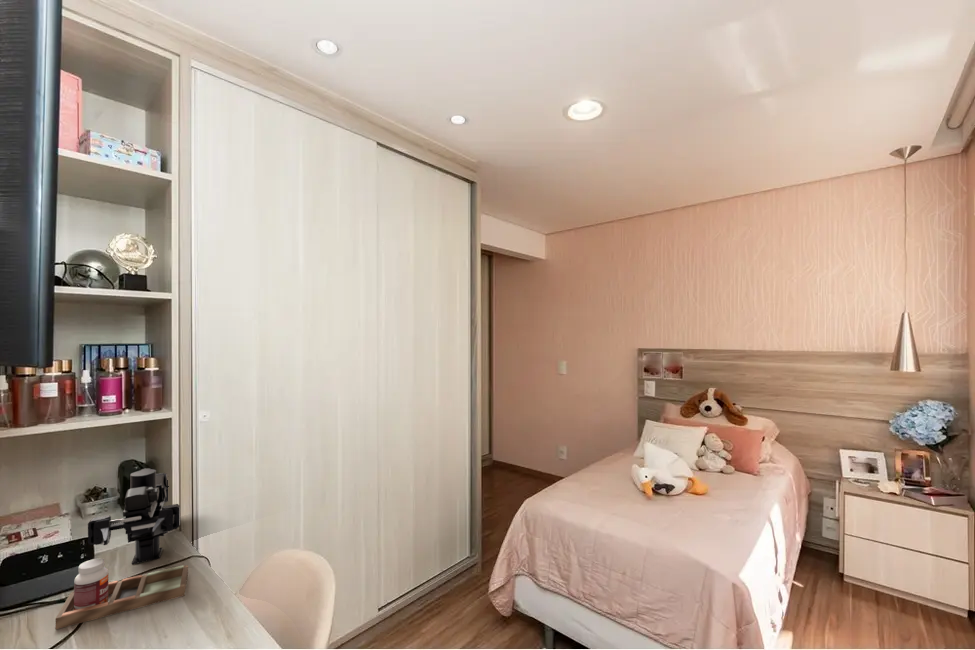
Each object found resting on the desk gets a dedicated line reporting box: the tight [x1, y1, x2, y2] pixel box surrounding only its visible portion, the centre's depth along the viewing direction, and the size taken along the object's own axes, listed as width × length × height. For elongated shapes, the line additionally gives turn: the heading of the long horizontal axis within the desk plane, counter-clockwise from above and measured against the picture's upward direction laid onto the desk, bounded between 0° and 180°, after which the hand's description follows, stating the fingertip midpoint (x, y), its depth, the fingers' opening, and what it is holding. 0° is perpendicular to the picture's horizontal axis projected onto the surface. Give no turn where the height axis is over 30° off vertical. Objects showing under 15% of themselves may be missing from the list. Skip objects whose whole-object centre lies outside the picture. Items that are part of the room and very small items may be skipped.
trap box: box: [55, 564, 189, 630], centre depth 109 cm, size 24×11×3 cm, turn 121°
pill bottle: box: [73, 557, 109, 611], centre depth 105 cm, size 6×6×11 cm
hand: (129, 538), depth 106 cm, fingers open, 9 cm apart
